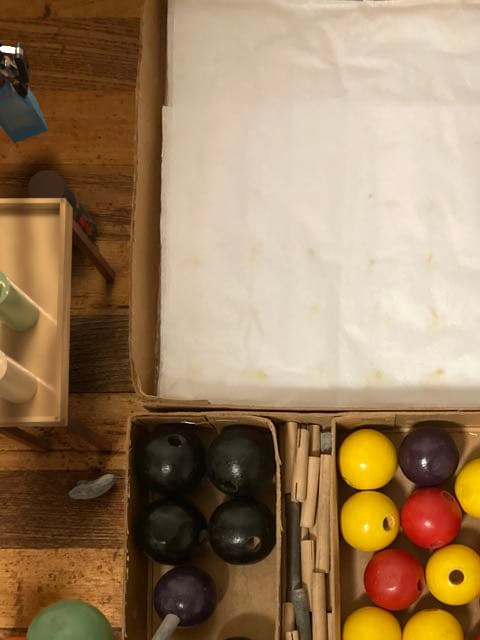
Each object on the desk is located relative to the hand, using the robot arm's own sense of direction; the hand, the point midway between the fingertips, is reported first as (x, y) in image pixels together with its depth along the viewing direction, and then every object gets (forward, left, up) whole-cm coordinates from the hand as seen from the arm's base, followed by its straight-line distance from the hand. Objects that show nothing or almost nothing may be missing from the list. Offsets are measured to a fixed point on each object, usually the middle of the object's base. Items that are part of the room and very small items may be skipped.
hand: (5, 93), depth 135 cm
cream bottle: (+6, -50, +6) cm, 51 cm away
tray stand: (+6, -39, -17) cm, 43 cm away
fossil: (+10, -62, -17) cm, 65 cm away
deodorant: (+6, -15, -17) cm, 23 cm away
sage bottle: (+6, -39, +6) cm, 40 cm away
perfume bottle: (0, 0, -8) cm, 8 cm away
